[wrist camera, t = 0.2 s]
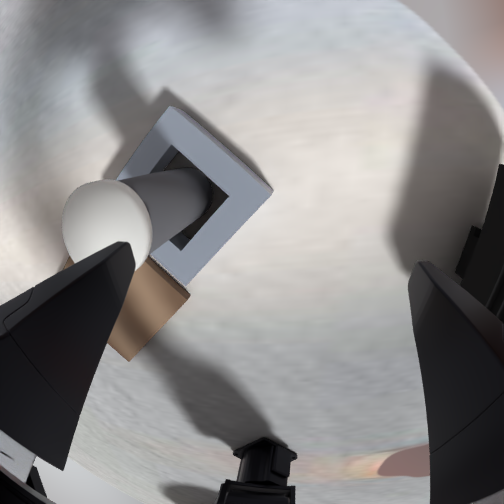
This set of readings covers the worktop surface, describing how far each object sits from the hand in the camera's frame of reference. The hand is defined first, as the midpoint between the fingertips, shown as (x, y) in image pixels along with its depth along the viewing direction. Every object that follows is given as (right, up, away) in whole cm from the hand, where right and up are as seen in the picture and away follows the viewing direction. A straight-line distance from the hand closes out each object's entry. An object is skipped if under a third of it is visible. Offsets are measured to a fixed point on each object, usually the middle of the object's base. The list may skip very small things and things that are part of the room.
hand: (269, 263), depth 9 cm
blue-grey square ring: (-6, +5, +15) cm, 17 cm away
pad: (-14, -4, +19) cm, 25 cm away
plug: (-6, +5, +15) cm, 17 cm away
